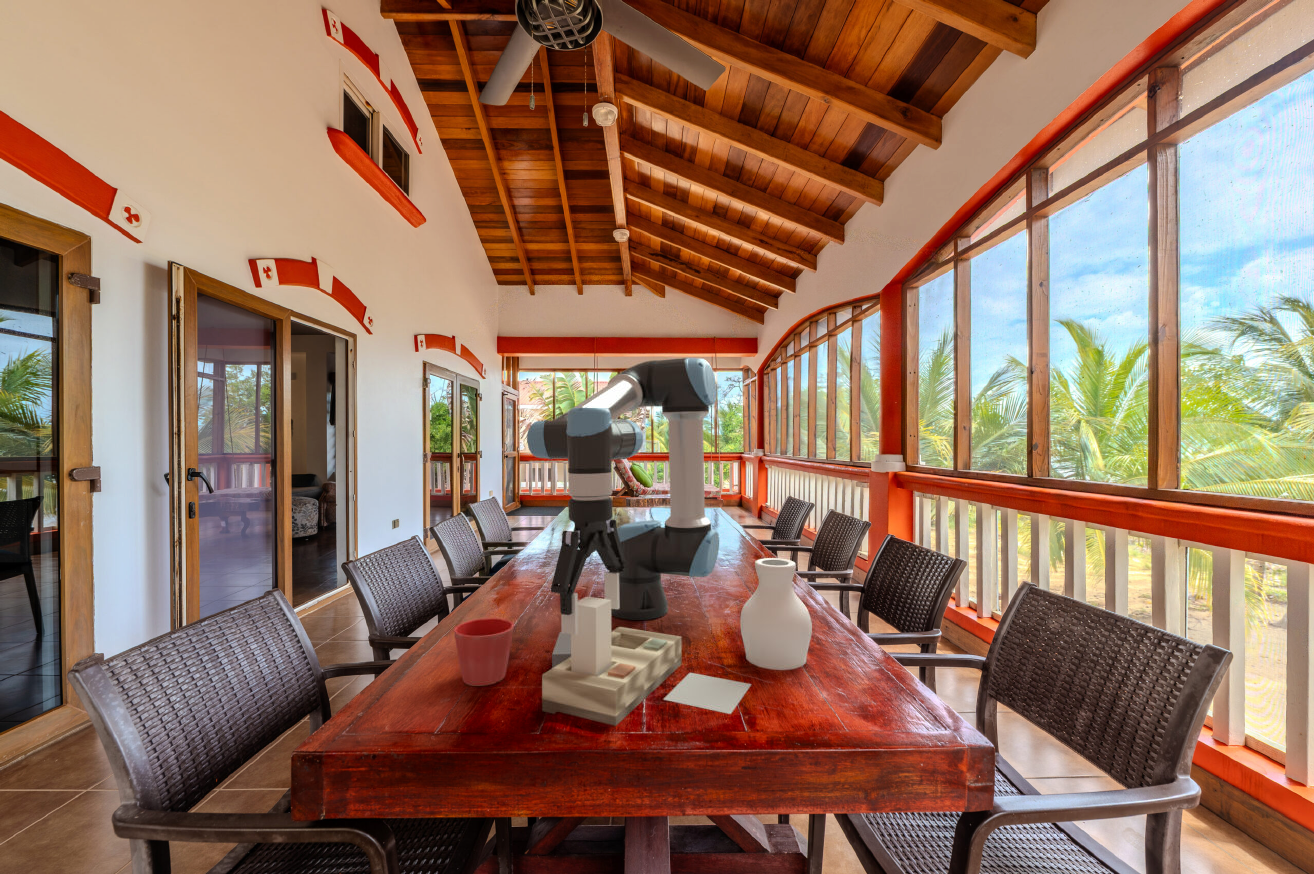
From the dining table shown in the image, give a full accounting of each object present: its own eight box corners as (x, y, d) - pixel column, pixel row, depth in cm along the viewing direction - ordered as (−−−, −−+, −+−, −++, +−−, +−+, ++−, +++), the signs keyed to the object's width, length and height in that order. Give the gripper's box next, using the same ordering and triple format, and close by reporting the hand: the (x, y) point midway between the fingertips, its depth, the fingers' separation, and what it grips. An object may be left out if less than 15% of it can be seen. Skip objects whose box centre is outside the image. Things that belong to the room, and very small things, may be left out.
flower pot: (495, 661, 114) (495, 613, 114) (524, 677, 106) (524, 626, 106) (444, 677, 107) (444, 626, 107) (471, 696, 99) (471, 640, 99)
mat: (689, 675, 107) (689, 672, 107) (751, 687, 102) (751, 684, 102) (663, 702, 96) (663, 699, 96) (730, 717, 91) (730, 713, 91)
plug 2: (587, 680, 100) (586, 596, 100) (611, 685, 98) (611, 599, 98) (571, 692, 96) (570, 604, 96) (596, 697, 93) (596, 607, 93)
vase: (726, 661, 113) (725, 562, 113) (764, 642, 124) (763, 551, 124) (789, 682, 104) (788, 573, 104) (825, 659, 114) (824, 561, 114)
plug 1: (561, 650, 120) (561, 627, 120) (585, 650, 120) (584, 626, 120) (552, 681, 105) (552, 654, 105) (579, 680, 105) (579, 653, 105)
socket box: (619, 655, 117) (619, 624, 117) (681, 667, 111) (681, 634, 111) (542, 710, 93) (542, 671, 93) (615, 729, 87) (615, 687, 87)
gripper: (608, 488, 110) (610, 596, 110) (526, 505, 87) (528, 641, 88) (642, 490, 106) (644, 601, 107) (566, 508, 84) (569, 649, 84)
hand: (592, 619), depth 97 cm, fingers open, 13 cm apart
